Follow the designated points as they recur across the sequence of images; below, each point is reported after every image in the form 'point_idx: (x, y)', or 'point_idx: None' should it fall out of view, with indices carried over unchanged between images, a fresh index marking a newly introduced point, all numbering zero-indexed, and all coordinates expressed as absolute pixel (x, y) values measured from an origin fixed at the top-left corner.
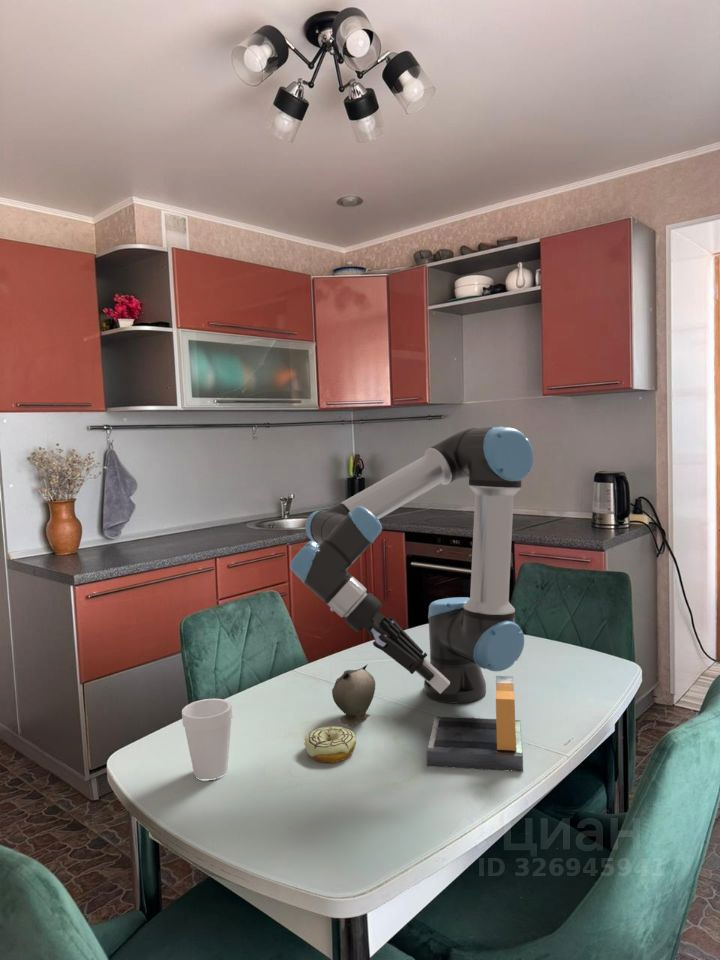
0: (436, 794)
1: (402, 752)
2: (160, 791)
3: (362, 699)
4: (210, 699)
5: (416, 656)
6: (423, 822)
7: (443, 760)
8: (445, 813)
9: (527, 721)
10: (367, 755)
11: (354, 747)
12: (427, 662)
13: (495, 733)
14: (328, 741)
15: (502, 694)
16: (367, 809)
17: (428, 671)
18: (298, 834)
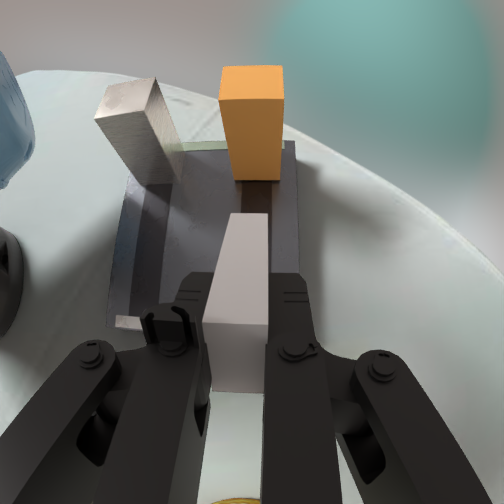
0: (400, 306)
1: (234, 400)
2: None
3: (92, 501)
4: None
5: (304, 396)
6: (473, 315)
7: None
8: (448, 283)
9: (101, 155)
10: (256, 470)
11: (246, 499)
12: (238, 304)
13: (194, 186)
14: None
15: (248, 85)
16: (452, 414)
17: (299, 300)
18: (495, 472)
